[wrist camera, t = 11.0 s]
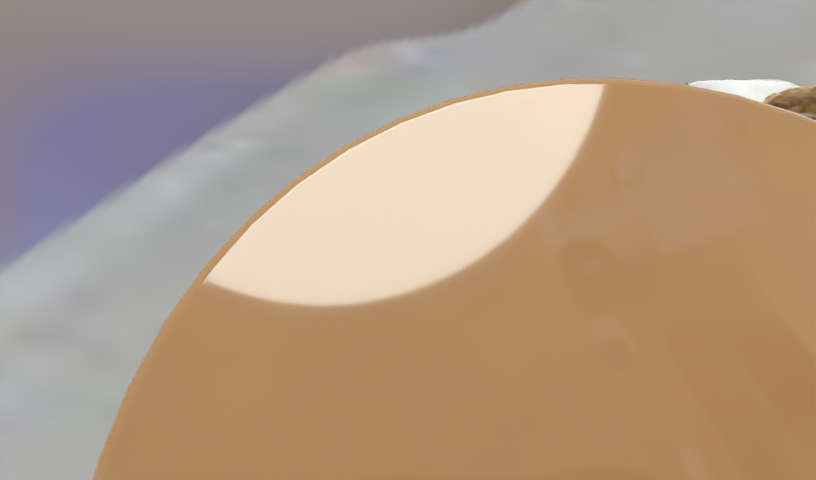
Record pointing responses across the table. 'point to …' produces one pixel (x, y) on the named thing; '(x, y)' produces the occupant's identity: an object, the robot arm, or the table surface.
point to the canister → (507, 303)
